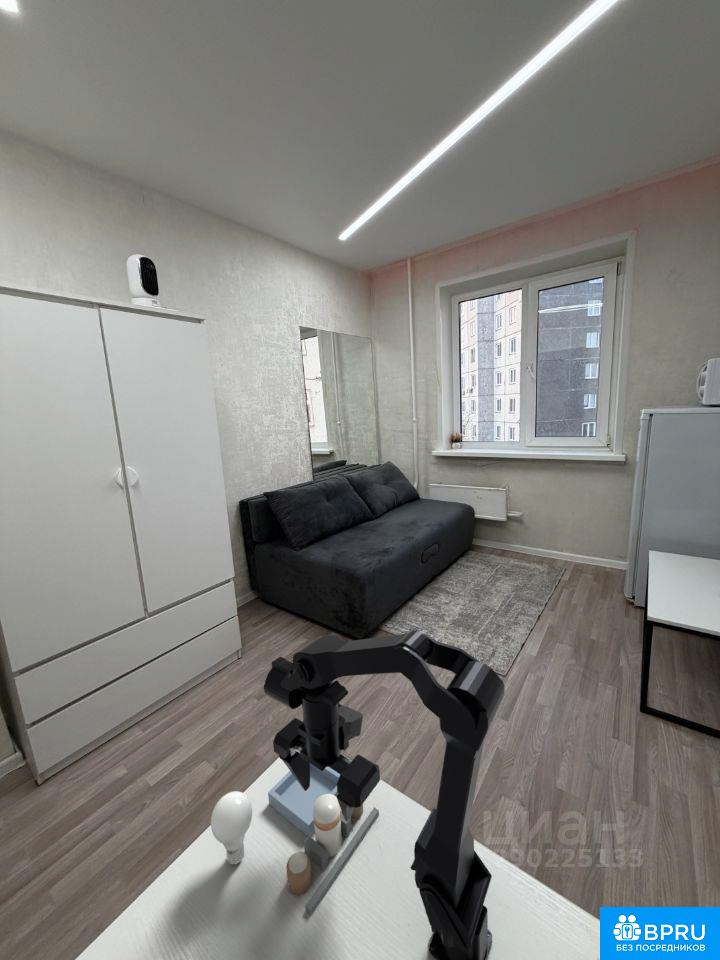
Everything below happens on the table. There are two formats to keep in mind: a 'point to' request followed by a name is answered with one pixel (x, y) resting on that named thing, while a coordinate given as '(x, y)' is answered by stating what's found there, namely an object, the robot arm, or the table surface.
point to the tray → (302, 796)
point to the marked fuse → (327, 823)
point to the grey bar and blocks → (320, 858)
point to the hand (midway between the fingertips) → (326, 802)
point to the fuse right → (357, 813)
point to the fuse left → (298, 873)
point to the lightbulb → (232, 823)
